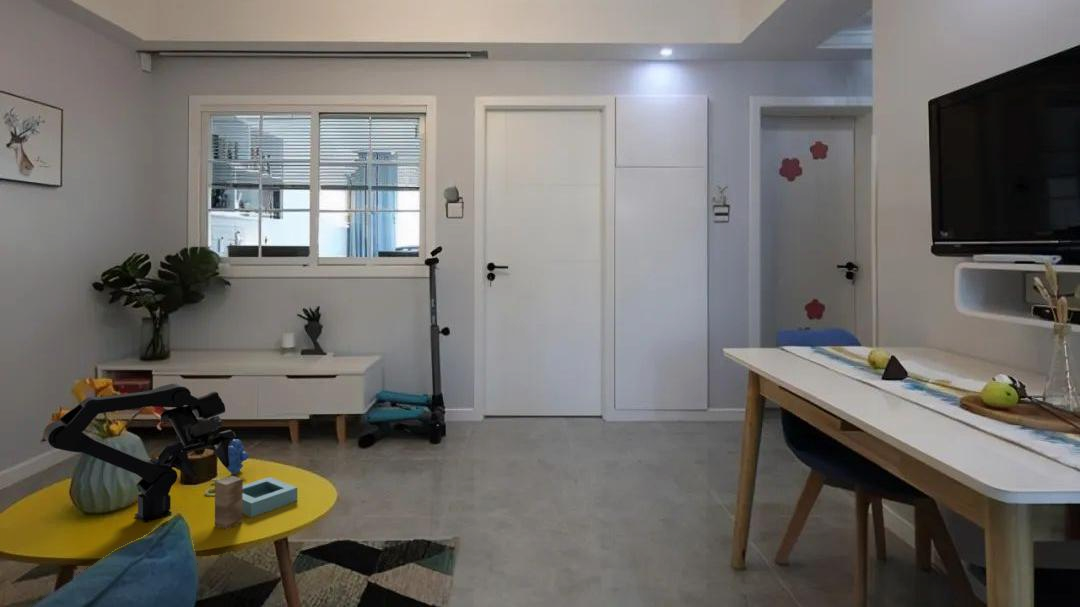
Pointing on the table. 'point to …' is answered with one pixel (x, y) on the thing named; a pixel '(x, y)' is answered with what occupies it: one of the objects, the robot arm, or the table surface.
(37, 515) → the table surface
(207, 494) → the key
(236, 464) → the grapes
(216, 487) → the walnut block
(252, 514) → the box
